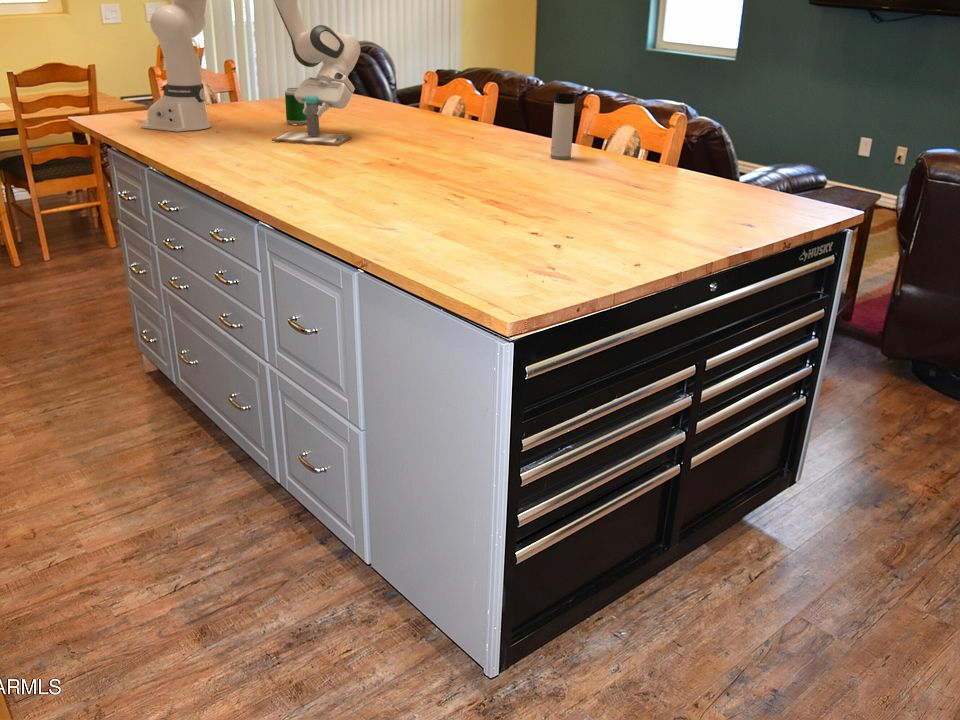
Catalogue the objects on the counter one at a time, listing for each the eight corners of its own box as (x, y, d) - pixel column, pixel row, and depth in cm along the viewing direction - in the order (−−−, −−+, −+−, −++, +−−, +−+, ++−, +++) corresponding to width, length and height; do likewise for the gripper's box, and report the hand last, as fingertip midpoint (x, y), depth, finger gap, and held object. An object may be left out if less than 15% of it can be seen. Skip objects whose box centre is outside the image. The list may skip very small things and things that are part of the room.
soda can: (305, 126, 314) (304, 90, 309) (284, 125, 314) (282, 89, 309) (310, 122, 321) (308, 87, 316) (289, 121, 321) (287, 86, 316)
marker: (305, 135, 290) (303, 96, 285) (309, 133, 294) (307, 95, 289) (317, 135, 290) (315, 97, 285) (321, 133, 293) (319, 95, 288)
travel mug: (546, 158, 278) (551, 91, 269) (555, 154, 283) (559, 89, 275) (565, 161, 275) (570, 93, 267) (573, 157, 280) (578, 91, 272)
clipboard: (271, 141, 287) (271, 136, 286) (287, 133, 301) (287, 128, 300) (338, 146, 284) (338, 140, 284) (351, 137, 298) (351, 132, 297)
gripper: (301, 70, 295) (282, 104, 291) (349, 76, 285) (329, 111, 281) (312, 83, 300) (293, 117, 296) (359, 89, 290) (339, 124, 286)
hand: (311, 114), depth 289 cm, fingers closed on marker, 4 cm apart
